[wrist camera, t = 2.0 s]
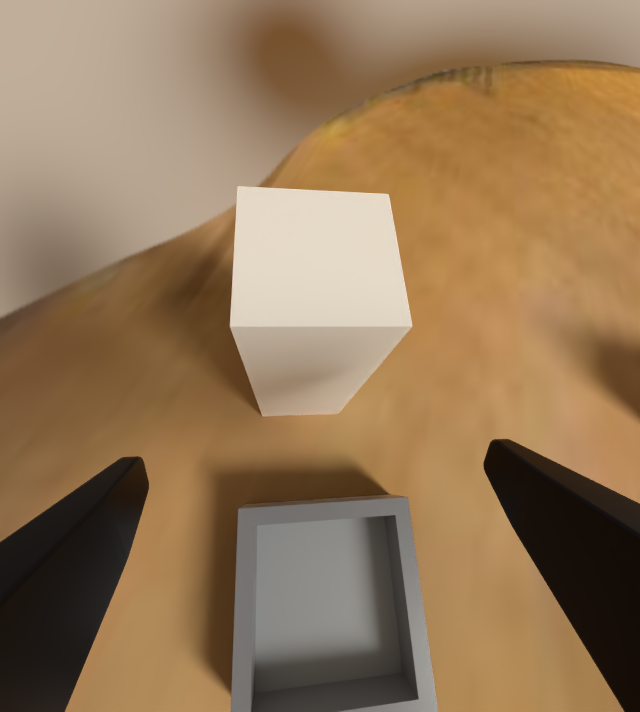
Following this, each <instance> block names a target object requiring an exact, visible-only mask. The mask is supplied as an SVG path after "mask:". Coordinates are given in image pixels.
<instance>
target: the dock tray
mask: <svg viewBox="0 0 640 712" xmlns="http://www.w3.org/2000/svg"><path fill="white" fill-rule="evenodd" d="M231 712H438V706H437V699H436V692H435V685H434V678H433V671H432V664H431V657H430V650H429V643H428V636H427V629H426V622H425V615H424V608H423V601H422V594H421V587H420V580H419V572H418V565H417V558H416V551H415V544H414V537H413V530H412V523H411V516H410V509H409V502H408V497H404V496H397V495H391V494H387V495H372V496H357V497H342V498H327V499H312V500H297V501H282V502H268V503H253V504H244V505H243V506H242V507H240V508H239V509H238V528H237V555H236V582H235V609H234V637H233V664H232V691H231Z"/></svg>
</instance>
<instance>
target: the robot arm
mask: <svg viewBox="0 0 640 712" xmlns="http://www.w3.org/2000/svg"><path fill="white" fill-rule="evenodd" d="M484 470H485V473H486V475H487V477H488V479H489V481H490V483H491V485H492V487H493V489H494V491H495V493H496V495H497V497H498V499H499V501H500V503H501V505H502V507H503V509H504V511H505V513H506V515H507V517H508V519H509V521H510V523H511V525H512V527H513V529H514V530H515V532H516V534H517V536H518V537H519V539H520V540H521V542H522V544H523V545H524V547H525V549H526V550H527V552H528V554H529V555H530V557H531V559H532V560H533V562H534V564H535V565H536V567H537V568H538V570H539V572H540V573H541V575H542V577H543V578H544V580H545V582H546V583H547V585H548V587H549V588H550V590H551V592H552V593H553V595H554V596H555V598H556V600H557V601H558V603H559V605H560V606H561V608H562V610H563V611H564V613H565V615H566V616H567V618H568V620H569V621H570V623H571V624H572V626H573V628H574V629H575V631H576V633H577V634H578V636H579V638H580V639H581V641H582V643H583V644H584V646H585V647H586V649H587V651H588V652H589V654H590V656H591V657H592V659H593V661H594V662H595V664H596V666H597V667H598V669H599V671H600V672H601V674H602V675H603V677H604V679H605V680H606V682H607V684H608V685H609V687H610V689H611V690H612V692H613V694H614V695H615V697H616V699H617V700H618V702H619V703H620V705H621V707H622V708H623V710H624V712H640V504H639V503H637V502H635V501H633V500H631V499H629V498H627V497H625V496H623V495H621V494H619V493H617V492H615V491H613V490H611V489H609V488H607V487H605V486H603V485H601V484H599V483H597V482H595V481H593V480H590V479H588V478H586V477H584V476H582V475H580V474H578V473H576V472H574V471H572V470H570V469H568V468H566V467H564V466H562V465H560V464H558V463H556V462H554V461H552V460H550V459H548V458H546V457H544V456H542V455H540V454H538V453H536V452H534V451H532V450H530V449H528V448H526V447H524V446H522V445H519V444H517V443H515V442H513V441H511V440H509V439H494V440H492V441H491V442H490V444H489V447H488V450H487V454H486V457H485V460H484ZM148 489H149V481H148V477H147V473H146V469H145V465H144V461H143V459H142V458H141V457H138V456H136V457H123V458H120V459H119V460H117V461H116V462H114V463H113V464H112V465H110V466H109V467H107V468H106V469H104V470H103V471H102V472H100V473H99V474H97V475H96V476H94V477H93V478H92V479H90V480H89V481H87V482H86V483H84V484H83V485H81V486H80V487H79V488H77V489H76V490H74V491H73V492H71V493H70V494H69V495H67V496H66V497H64V498H63V499H61V500H60V501H59V502H57V503H56V504H54V505H53V506H51V507H50V508H49V509H47V510H46V511H44V512H43V513H41V514H40V515H38V516H37V517H36V518H34V519H33V520H31V521H30V522H28V523H27V524H26V525H24V526H23V527H21V528H20V529H18V530H17V531H16V532H14V533H13V534H11V535H10V536H8V537H7V538H5V539H4V540H3V541H1V542H0V712H65V710H66V707H67V705H68V702H69V700H70V698H71V695H72V693H73V690H74V688H75V686H76V683H77V681H78V678H79V676H80V673H81V671H82V669H83V666H84V664H85V661H86V659H87V657H88V654H89V652H90V649H91V647H92V644H93V642H94V640H95V637H96V635H97V632H98V630H99V628H100V625H101V623H102V620H103V618H104V615H105V613H106V611H107V608H108V606H109V603H110V601H111V599H112V596H113V594H114V591H115V589H116V586H117V584H118V582H119V579H120V577H121V574H122V572H123V569H124V567H125V564H126V562H127V559H128V556H129V553H130V550H131V547H132V544H133V540H134V537H135V534H136V530H137V527H138V524H139V520H140V517H141V514H142V510H143V507H144V504H145V500H146V497H147V494H148Z"/></svg>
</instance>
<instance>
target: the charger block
mask: <svg viewBox="0 0 640 712" xmlns="http://www.w3.org/2000/svg"><path fill="white" fill-rule="evenodd" d="M237 192H238V193H237V208H236V226H235V244H234V262H233V279H232V297H231V315H230V328H231V331H232V334H233V337H234V339H235V342H236V345H237V348H238V350H239V353H240V356H241V359H242V362H243V364H244V367H245V370H246V373H247V375H248V378H249V381H250V384H251V386H252V389H253V392H254V395H255V397H256V400H257V403H258V406H259V408H260V411H261V414H262V416H291V415H320V414H338V413H339V412H340V411H341V410H342V409H343V408H344V406H345V405H346V404H347V403H348V402H349V401H350V399H351V398H352V397H353V396H354V395H355V393H356V392H357V391H358V390H359V389H360V388H361V386H362V385H363V384H364V383H365V382H366V381H367V379H368V378H369V377H370V376H371V375H372V373H373V372H374V371H375V370H376V369H377V368H378V366H379V365H380V364H381V363H382V362H383V361H384V359H385V358H386V357H387V356H388V355H389V353H390V352H391V351H392V350H393V349H394V348H395V346H396V345H397V344H398V343H399V342H400V340H401V339H402V338H403V337H404V336H405V335H406V333H407V332H408V331H409V330H410V329H411V328H412V321H411V316H410V310H409V305H408V299H407V294H406V288H405V282H404V277H403V271H402V266H401V260H400V254H399V249H398V243H397V238H396V232H395V227H394V221H393V215H392V210H391V204H390V199H389V194H376V193H357V192H338V191H318V190H299V189H280V188H261V187H241V186H238V190H237Z"/></svg>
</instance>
